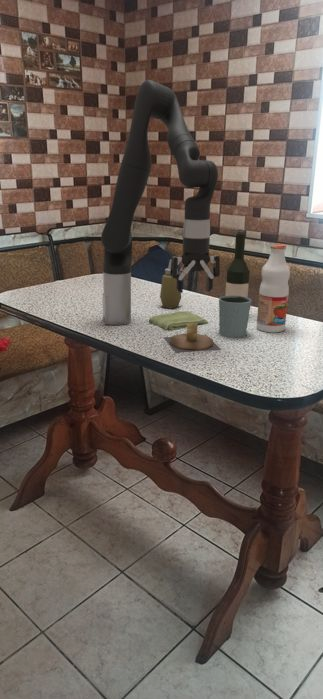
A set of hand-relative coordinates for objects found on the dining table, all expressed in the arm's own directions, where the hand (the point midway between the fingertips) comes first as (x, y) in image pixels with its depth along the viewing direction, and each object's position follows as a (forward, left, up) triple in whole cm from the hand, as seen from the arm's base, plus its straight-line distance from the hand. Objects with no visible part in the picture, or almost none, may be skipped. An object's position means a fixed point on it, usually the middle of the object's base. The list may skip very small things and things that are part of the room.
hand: (194, 291), depth 154 cm
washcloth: (+2, +22, -17) cm, 28 cm away
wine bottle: (+25, +28, -17) cm, 41 cm away
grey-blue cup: (+16, +7, -17) cm, 24 cm away
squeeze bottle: (+5, +44, -17) cm, 47 cm away
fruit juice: (+31, +11, -17) cm, 37 cm away
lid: (0, 0, -16) cm, 16 cm away
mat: (0, 0, -17) cm, 17 cm away
